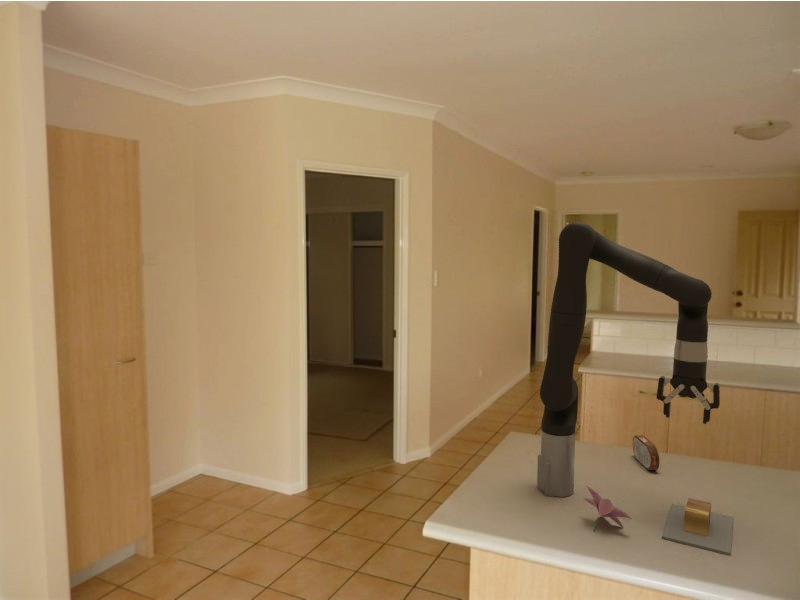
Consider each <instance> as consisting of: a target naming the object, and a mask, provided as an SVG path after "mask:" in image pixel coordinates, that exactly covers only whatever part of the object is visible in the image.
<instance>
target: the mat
mask: <svg viewBox="0 0 800 600" xmlns="http://www.w3.org/2000/svg"><path fill="white" fill-rule="evenodd" d="M685 508H686V505H681V504H678V503H677V504H675V503H671V507H670V509H669V512H668V516H667V519H666V522H665V525H664V528H663V531H662V534H661V539H662V540H665V541H670V542H674V543H678V544H683V545H685V546H686V545H687V546H691V547H695V548H698V549H702V550H707V551H709V552H715V553H718V554H722V555H727V556H731V548H732V536H733V535H732V534H733V522H734V516H732V515H728V514H727V515H726V514H723V513H719V512H718V513H717V512H714V511H711V513H710V525H709V530H708V535H707V536H706V535H702V534H697V533H693V532H689V531H685V530H684V516H685Z"/></svg>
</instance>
